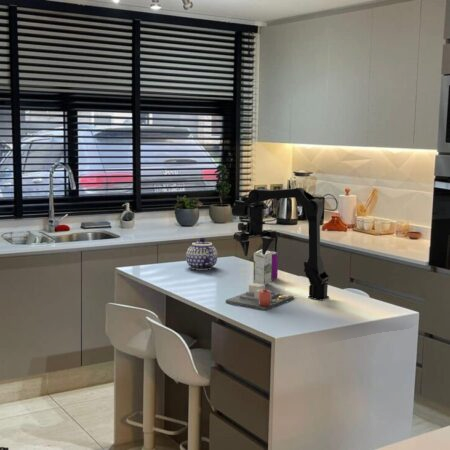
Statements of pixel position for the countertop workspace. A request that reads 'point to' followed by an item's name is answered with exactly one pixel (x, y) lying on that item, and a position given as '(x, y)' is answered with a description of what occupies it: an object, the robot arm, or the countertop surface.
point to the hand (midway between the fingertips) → (254, 255)
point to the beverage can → (274, 265)
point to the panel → (251, 302)
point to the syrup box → (262, 267)
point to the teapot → (201, 255)
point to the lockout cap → (264, 297)
